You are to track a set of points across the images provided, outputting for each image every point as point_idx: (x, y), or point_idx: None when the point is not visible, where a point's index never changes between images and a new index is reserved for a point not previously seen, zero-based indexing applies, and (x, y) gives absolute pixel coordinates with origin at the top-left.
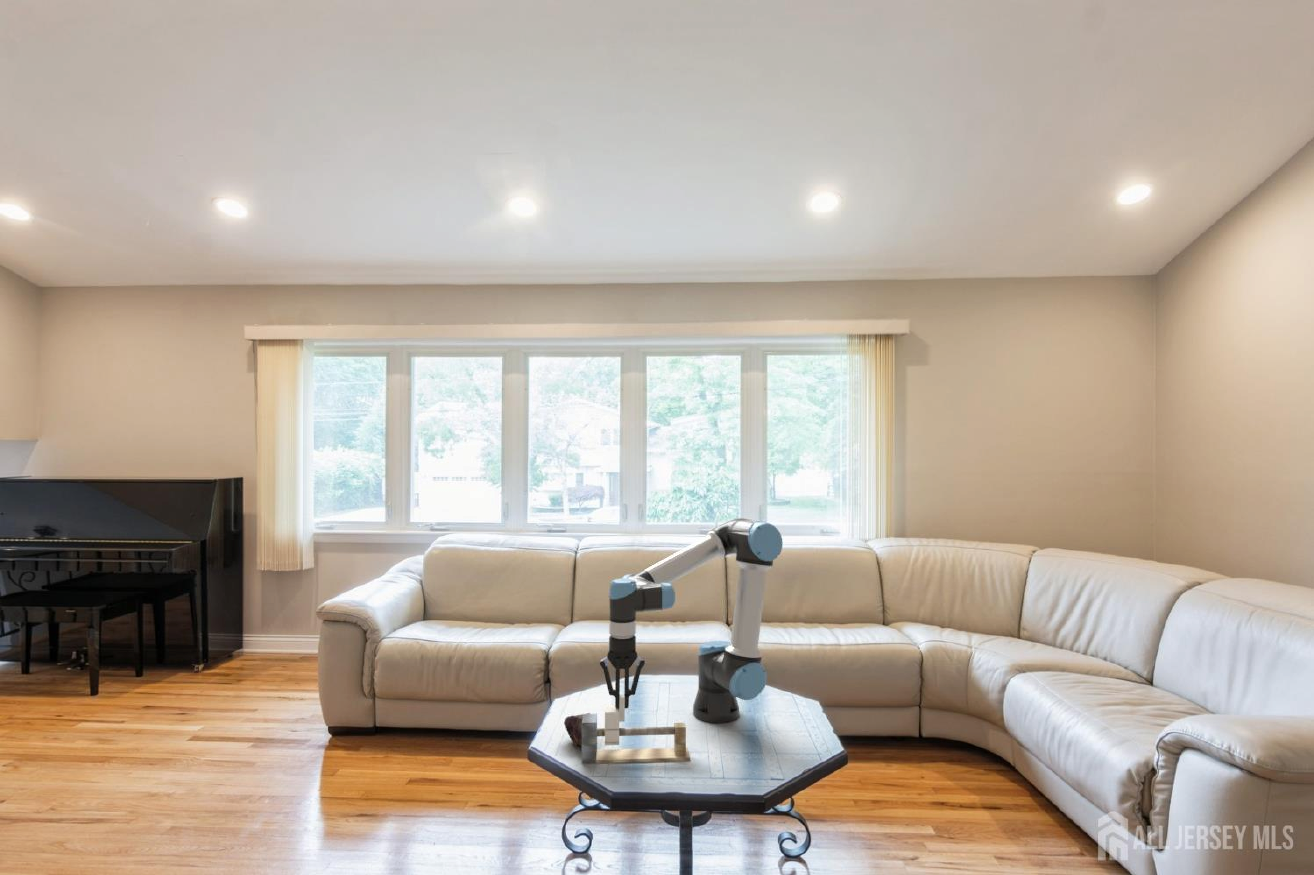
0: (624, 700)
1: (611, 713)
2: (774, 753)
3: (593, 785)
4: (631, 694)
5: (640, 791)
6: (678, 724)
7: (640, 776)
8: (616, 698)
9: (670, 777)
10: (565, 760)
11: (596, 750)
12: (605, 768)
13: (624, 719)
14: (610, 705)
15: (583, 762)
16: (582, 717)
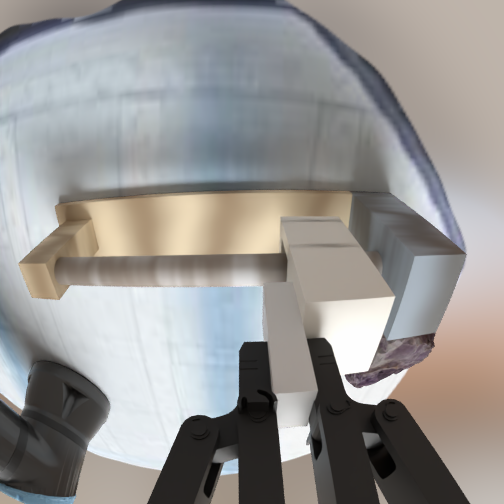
0: (274, 377)
1: (355, 294)
2: None
3: (359, 54)
4: (216, 420)
5: (203, 7)
6: (43, 286)
7: (199, 93)
8: (335, 390)
9: (103, 95)
10: (425, 216)
11: (354, 229)
12: (321, 153)
13: (264, 289)
14: (342, 372)
15: (386, 194)
16: (409, 344)
